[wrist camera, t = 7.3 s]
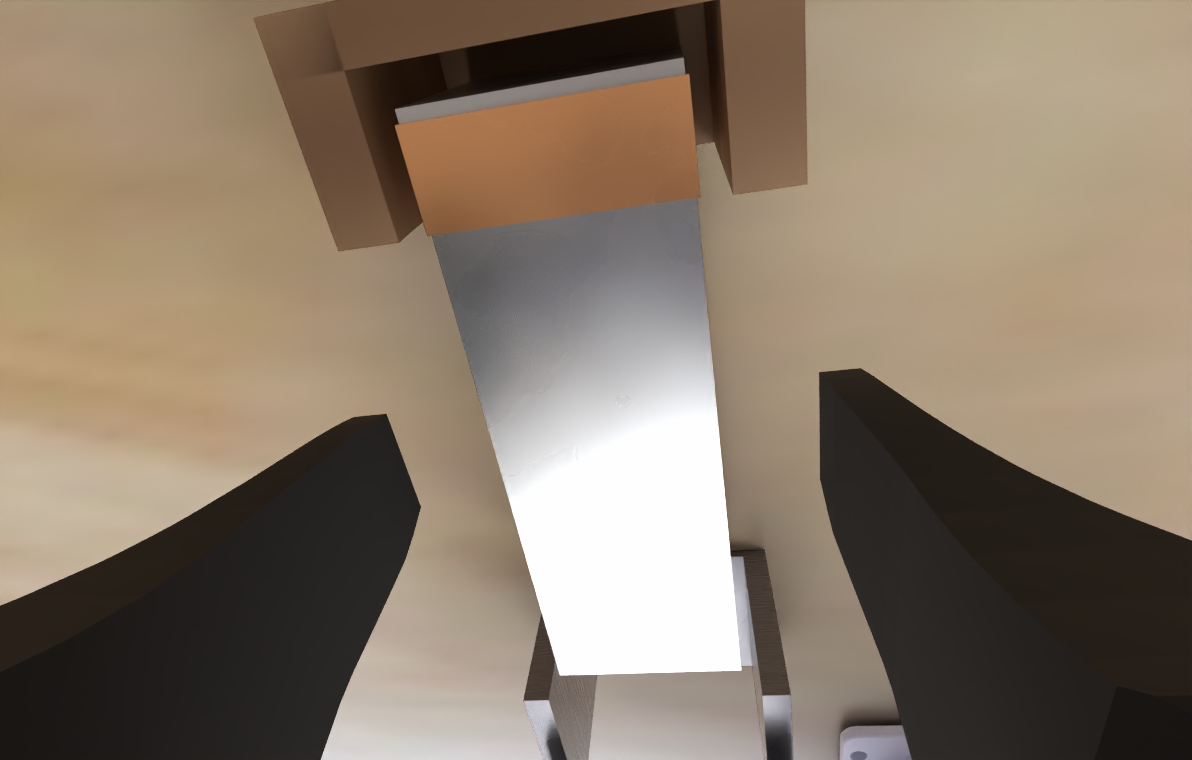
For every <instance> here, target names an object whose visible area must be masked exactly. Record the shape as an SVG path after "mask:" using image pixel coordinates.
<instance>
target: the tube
mask: <svg viewBox="0 0 1192 760" xmlns="http://www.w3.org/2000/svg"><path fill="white" fill-rule="evenodd" d="M395 112H396V115H397V118H398V122H399V124H397V125H395V128H396V132H397V135H398V139H399V142H400V145H401V149H402V152H403V156H404V159H405V162H406V166H407V169H408V173H409V176H410V179H411V183H412V186H413V189H414V193H415V196H416V200H417V203H418V206H419V210H420V213H421V217H422V220H423V223H424V227H425V230H426V233H427V236H432V238H433V242H434V245H435V249H436V252H437V255H438V259H439V262H440V266H441V269H442V273H443V276H444V279H445V283H446V286H447V290H448V293H449V297H450V300H451V303H452V307H453V310H454V314H455V317H456V321H457V324H458V327H459V331H460V334H461V338H462V341H463V345H464V348H465V351H466V355H467V358H468V362H469V365H470V368H471V372H472V375H473V379H474V382H475V386H476V389H477V392H478V396H479V399H480V403H481V406H482V410H483V413H484V416H485V420H486V423H487V427H488V430H489V434H490V437H491V440H492V444H493V447H494V451H495V454H496V458H497V461H498V464H499V468H500V471H501V475H502V478H503V482H504V485H505V488H506V492H507V495H508V499H509V502H510V505H511V509H512V512H513V516H514V519H515V523H516V526H517V529H518V533H519V536H520V540H521V543H522V547H523V550H524V553H525V557H526V560H527V564H528V567H529V571H530V574H531V577H532V581H533V584H534V588H535V591H536V595H537V598H538V601H539V605H540V608H541V612H542V615H543V619H544V622H545V625H546V629H547V632H548V636H549V639H550V642H551V646H552V649H553V653H554V656H555V660H556V663H557V666H558V670H559V673H560V675H591V674H627V673H663V672H699V671H735V670H741V663H740V652H739V641H738V631H737V620H736V609H735V599H734V588H733V577H732V567H731V556H730V545H729V535H728V524H727V513H726V503H725V492H724V481H723V471H722V460H721V449H720V439H719V428H718V417H717V407H716V396H715V385H714V375H713V364H712V353H711V343H710V332H709V321H708V311H707V300H706V289H705V279H704V268H703V257H702V247H701V236H700V225H699V215H698V204H697V198H698V197H700V186H699V175H698V164H697V153H696V142H695V131H694V120H693V109H692V98H691V87H690V76H689V72H688V69H687V66H686V63H685V60H684V57H683V54H682V51H681V48H680V45H679V44H673V45H668V46H662V47H657V48H651V49H646V50H640V51H635V52H629V53H624V54H618V55H613V56H607V57H602V58H596V59H591V60H585V61H580V62H574V63H569V64H563V65H558V66H552V67H547V68H541V69H536V70H530V71H525V72H519V73H514V74H508V75H503V76H497V77H492V78H486V79H481V80H475V81H470V82H467V83H464V84H462V85H459V86H456V87H453V88H451V89H448V90H445V91H443V92H440V93H437V94H434V95H432V96H429V97H426V98H424V99H421V100H418V101H415V102H413V103H410V104H407V105H405V106H402V107H399V108H397V109H395Z"/></svg>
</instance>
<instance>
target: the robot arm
mask: <svg viewBox="0 0 1192 760" xmlns="http://www.w3.org/2000/svg"><path fill="white" fill-rule="evenodd" d="M819 396H820V480H821V484H822V489H823V493H824V497H825V502H826V506H827V510H828V514H829V518H830V522H831V526H832V530H833V534H834V537H835V539H836V542H837V545H838V547H839V550H840V552H841V555H842V558H843V560H844V563H845V566H846V568H847V571H848V573H849V576H850V579H851V581H852V584H853V586H854V589H855V591H856V594H857V597H858V599H859V602H860V604H861V607H862V609H863V612H864V614H865V617H866V620H867V622H868V625H869V627H870V630H871V632H872V635H873V638H874V640H875V643H876V645H877V648H878V650H879V653H880V656H881V658H882V661H883V664H884V667H885V670H886V673H887V676H888V679H889V681H890V684H891V687H892V690H893V694H894V697H895V701H896V705H897V708H898V712H899V716H900V719H901V723H902V725H890V726H852V727H849V728H846V729H845V730H844V731H842V732H841V735H840V760H1192V540H1189V539H1186V538H1183V537H1181V536H1178V535H1175V534H1173V533H1170V532H1168V531H1165V530H1162V529H1160V528H1157V527H1154V526H1152V525H1149V524H1147V523H1144V522H1141V521H1139V520H1136V519H1133V518H1131V517H1128V516H1126V515H1123V514H1121V513H1118V512H1116V511H1113V510H1111V509H1109V508H1106V507H1104V506H1101V505H1099V504H1097V503H1094V502H1092V501H1090V500H1087V499H1085V498H1083V497H1081V496H1079V495H1077V494H1074V493H1072V492H1070V491H1068V490H1066V489H1064V488H1061V487H1059V486H1057V485H1055V484H1053V483H1051V482H1049V481H1046V480H1044V479H1042V478H1040V477H1038V476H1036V475H1034V474H1032V473H1030V472H1028V471H1026V470H1024V469H1022V468H1020V467H1018V466H1016V465H1014V464H1012V463H1011V462H1009V461H1007V460H1005V459H1003V458H1002V457H1000V456H998V455H996V454H994V453H993V452H991V451H989V450H987V449H985V448H984V447H982V446H980V445H978V444H977V443H975V442H973V441H971V440H970V439H968V438H966V437H965V436H963V435H961V434H960V433H958V432H956V431H955V430H953V429H952V428H950V427H948V426H947V425H945V424H944V423H942V422H940V421H939V420H937V419H936V418H934V417H933V416H931V415H930V414H928V413H926V412H925V411H923V410H922V409H920V408H919V407H917V406H916V405H914V404H913V403H912V402H910V401H909V400H907V399H906V398H904V397H903V396H901V395H900V394H898V393H897V392H895V391H894V390H893V389H891V388H890V387H888V386H887V385H885V384H884V383H882V382H881V381H880V380H878V379H877V378H875V377H874V376H872V375H871V374H869V373H868V372H866V371H864V370H863V369H861V368H859V369H849V370H838V371H828V372H819ZM420 508H421V506H420V503H419V501H418V498H417V495H416V493H415V490H414V487H413V485H412V482H411V479H410V476H409V474H408V471H407V468H406V466H405V463H404V460H403V457H402V455H401V452H400V449H399V447H398V444H397V441H396V438H395V436H394V433H393V430H392V428H391V425H390V422H389V420H388V417H387V414H381V415H371V416H360V417H353V418H351V419H349V420H347V421H345V422H343V423H341V424H339V425H337V426H335V427H333V428H331V429H330V430H328V431H326V432H325V433H323V434H321V435H319V436H318V437H316V438H315V439H313V440H311V441H310V442H308V443H306V444H305V445H303V446H302V447H300V448H298V449H297V450H295V451H294V452H292V453H291V454H289V455H287V456H286V457H284V458H283V459H281V460H279V461H278V462H276V463H275V464H273V465H272V466H270V467H268V468H267V469H265V470H264V471H262V472H261V473H259V474H257V475H256V476H254V477H253V478H251V479H249V480H248V481H246V482H245V483H243V484H241V485H240V486H238V487H236V488H235V489H233V490H231V491H230V492H228V493H226V494H225V495H223V496H221V497H220V498H218V499H216V500H215V501H213V502H211V503H210V504H208V505H206V506H205V507H203V508H201V509H200V510H198V511H196V512H194V513H193V514H191V515H189V516H188V517H186V518H184V519H183V520H181V521H179V522H177V523H175V524H174V525H172V526H170V527H168V528H166V529H164V530H163V531H161V532H159V533H157V534H155V535H153V536H151V537H149V538H147V539H146V540H144V541H142V542H140V543H138V544H136V545H134V546H132V547H130V548H128V549H126V550H124V551H122V552H120V553H118V554H116V555H114V556H112V557H110V558H108V559H106V560H104V561H102V562H99V563H97V564H95V565H93V566H91V567H88V568H86V569H84V570H82V571H79V572H77V573H75V574H73V575H70V576H68V577H66V578H64V579H61V580H59V581H57V582H55V583H52V584H50V585H48V586H46V587H43V588H41V589H39V590H37V591H34V592H32V593H30V594H28V595H25V596H23V597H21V598H18V599H16V600H13V601H11V602H8V603H6V604H3V605H1V606H0V760H321V757H322V754H323V751H324V748H325V745H326V743H327V740H328V737H329V734H330V731H331V728H332V725H333V722H334V720H335V717H336V714H337V711H338V708H339V705H340V702H341V700H342V697H343V695H344V693H345V690H346V688H347V685H348V683H349V681H350V678H351V676H352V674H353V671H354V669H355V667H356V665H357V663H358V661H359V659H360V656H361V654H362V652H363V650H364V648H365V646H366V644H367V642H368V639H369V637H370V635H371V633H372V631H373V629H374V627H375V625H376V622H377V620H378V618H379V616H380V614H381V612H382V610H383V607H384V605H385V603H386V601H387V599H388V597H389V595H390V592H391V590H392V588H393V586H394V584H395V581H396V579H397V577H398V575H399V573H400V570H401V568H402V566H403V564H404V561H405V559H406V556H407V553H408V550H409V547H410V544H411V541H412V537H413V534H414V530H415V527H416V523H417V519H418V516H419V512H420Z"/></svg>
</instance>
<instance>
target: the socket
mask: <svg viewBox="0 0 1192 760" xmlns="http://www.w3.org/2000/svg"><path fill="white" fill-rule="evenodd" d="M253 19H254V22H255V24H256V27H257V30H258V33H259V35H260V38H261V41H262V44H263V46H264V49H265V52H266V55H267V57H268V60H269V63H270V65H271V68H272V71H273V74H274V76H275V79H276V82H277V85H278V87H279V90H280V93H281V96H282V98H283V101H284V104H285V107H286V109H287V112H288V115H289V118H290V120H291V123H292V126H293V128H294V131H295V134H296V137H297V139H298V142H299V145H300V148H301V150H302V153H303V156H304V159H305V161H306V164H307V167H308V170H309V172H310V175H311V178H312V181H313V183H314V186H315V189H316V191H317V194H318V197H319V200H320V202H321V205H322V208H323V211H324V213H325V216H326V219H327V222H328V224H329V227H330V230H331V233H332V235H333V238H334V241H335V244H336V246H337V249H338V251H344V250H351V249H358V248H365V247H372V246H379V245H386V244H393V243H399V242H400V241H401V240H402V239H404V238H405V237H406V236H407V235H408V234H409V233H411V232H412V231H413V230H414V229H415V228H416V227H417V226H419V225H420V224H421V223H422V222H423V220H422V217H421V213H420V210H419V206H418V203H417V200H416V196H415V193H414V189H413V186H412V183H411V179H410V176H409V173H408V169H407V166H406V162H405V159H404V156H403V152H402V149H401V145H400V142H399V139H398V135H397V132H396V128H395V125H397V124H399V122H398V118H397V115H396V112H395V109H397V108H399V107H402V106H405V105H407V104H410V103H413V102H415V101H418V100H421V99H424V98H426V97H429V96H432V95H434V94H437V93H440V92H443V91H445V90H448V89H451V88H453V87H456V86H459V85H462V84H464V83H467V82H470V81H475V80H481V79H486V78H492V77H497V76H503V75H508V74H514V73H519V72H525V71H530V70H536V69H541V68H547V67H552V66H558V65H563V64H569V63H574V62H580V61H585V60H591V59H596V58H602V57H607V56H613V55H618V54H624V53H629V52H635V51H640V50H646V49H651V48H657V47H662V46H668V45H673V44H679V45H680V48H681V51H682V54H683V57H684V60H685V63H686V66H687V69H688V72H689V76H690V87H691V98H692V109H693V120H694V131H695V142H696V145H699V144H705V143H711V142H715V145H716V148H717V151H718V153H719V156H720V159H721V162H722V165H723V167H724V170H725V173H726V176H727V179H728V181H729V184H730V187H731V190H732V193H733V195H736V194H743V193H750V192H757V191H764V190H771V189H778V188H784V187H791V186H798V185H805V184H807V122H806V52H805V0H336V1H331V2H326V3H321V4H317V5H312V6H307V7H302V8H298V9H293V10H288V11H283V12H279V13H274V14H269V15H264V16H260V17H255V18H253Z"/></svg>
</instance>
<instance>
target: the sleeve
mask: <svg viewBox="0 0 1192 760" xmlns="http://www.w3.org/2000/svg"><path fill="white" fill-rule="evenodd" d="M730 556H731V567H732V577H733V588H734V599H735V609H736V620H737V631H738V641H739V652H740V663H741V666H752V670H753V677H754V685H755V693H756V701H757V708H758V716H759V724H760V731H761V739H762V747H763V755H764V760H793V736H792V712H791V693H790V688H789V682H788V677H787V671H786V666H785V660H784V655H783V649H782V644H781V638H780V632H779V627H778V621H777V616H776V610H775V605H774V599H773V594H772V588H771V583H770V577H769V572H768V566H767V561H766V555H765V550H755V551H737V552H730ZM596 680H597V674H591V675H560V673H559V670H558V666H557V663H556V660H555V656H554V653H553V649H552V646H551V642H550V639H549V636H548V632H547V629H546V625H545V622H544V619H543V615H542V613H541V618H540V623H539V628H538V633H537V637H536V642H535V647H534V652H533V657H532V662H531V666H530V671H529V676H528V681H527V686H526V690H525V695H524V700H523V701H524V704H525V707H526V710H527V713H528V716H529V719H530V722H531V725H532V728H533V731H534V733H535V736H536V739H537V742H538V745H539V748H540V751H541V754H542V757H543V760H588V756H589V747H590V737H591V728H592V718H593V708H594V699H595V689H596Z"/></svg>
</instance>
